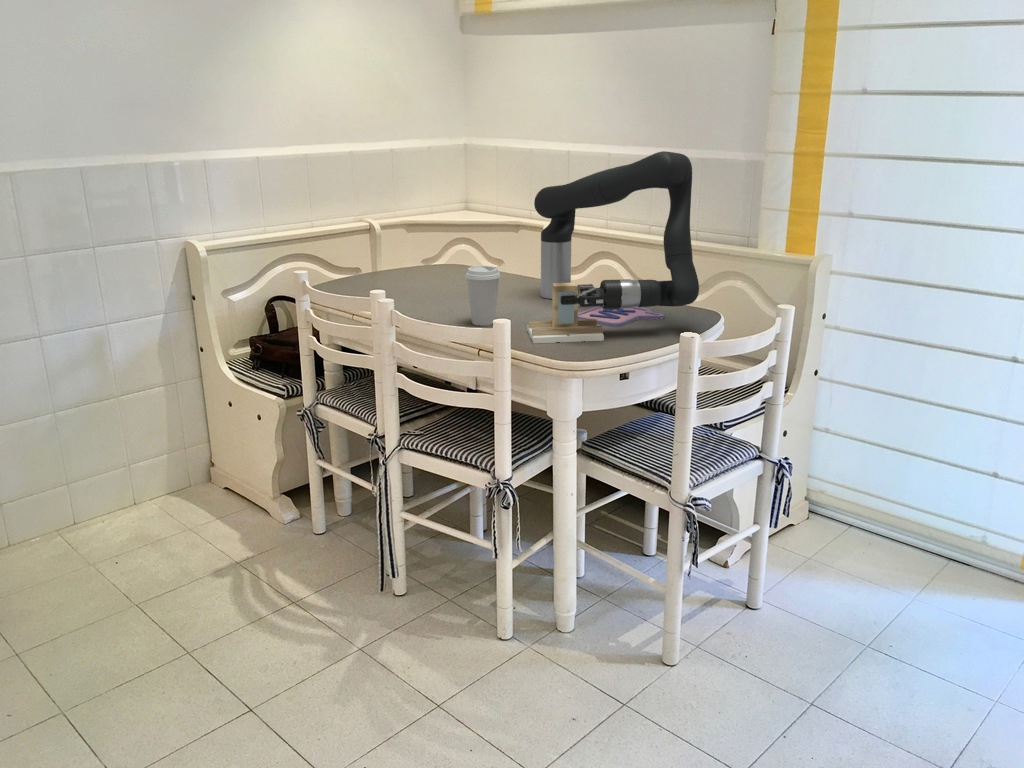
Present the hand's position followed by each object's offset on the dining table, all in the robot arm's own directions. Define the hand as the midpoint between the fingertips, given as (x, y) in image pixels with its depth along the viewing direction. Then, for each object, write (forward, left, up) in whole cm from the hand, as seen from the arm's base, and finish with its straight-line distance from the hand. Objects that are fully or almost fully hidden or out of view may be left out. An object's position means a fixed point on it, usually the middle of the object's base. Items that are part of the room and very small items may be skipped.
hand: (557, 296), depth 211 cm
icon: (-12, +23, -11) cm, 28 cm away
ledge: (0, +2, -10) cm, 11 cm away
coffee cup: (-18, -15, -11) cm, 26 cm away
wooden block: (0, +2, -9) cm, 9 cm away
